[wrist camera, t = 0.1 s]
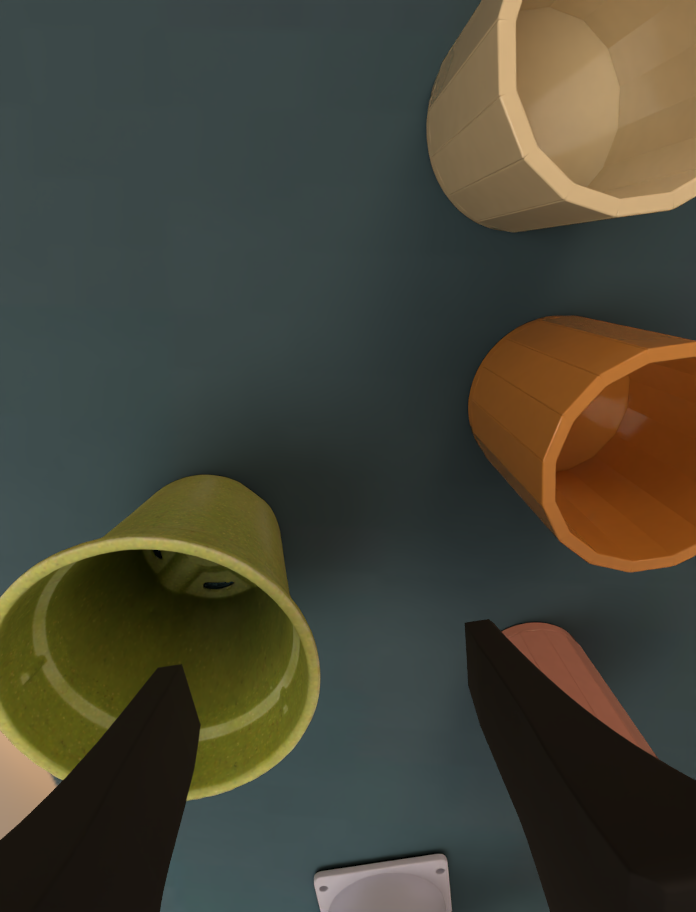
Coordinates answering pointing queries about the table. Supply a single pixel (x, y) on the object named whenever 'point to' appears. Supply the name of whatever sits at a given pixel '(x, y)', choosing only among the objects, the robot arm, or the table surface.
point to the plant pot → (163, 635)
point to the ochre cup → (595, 436)
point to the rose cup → (574, 675)
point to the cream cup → (567, 112)
